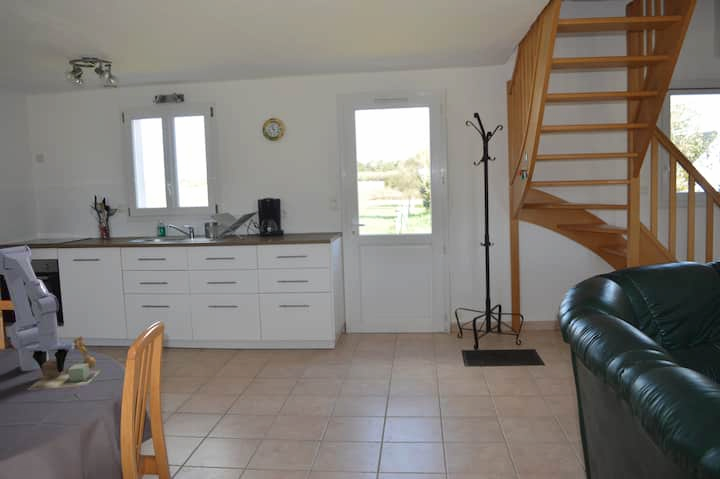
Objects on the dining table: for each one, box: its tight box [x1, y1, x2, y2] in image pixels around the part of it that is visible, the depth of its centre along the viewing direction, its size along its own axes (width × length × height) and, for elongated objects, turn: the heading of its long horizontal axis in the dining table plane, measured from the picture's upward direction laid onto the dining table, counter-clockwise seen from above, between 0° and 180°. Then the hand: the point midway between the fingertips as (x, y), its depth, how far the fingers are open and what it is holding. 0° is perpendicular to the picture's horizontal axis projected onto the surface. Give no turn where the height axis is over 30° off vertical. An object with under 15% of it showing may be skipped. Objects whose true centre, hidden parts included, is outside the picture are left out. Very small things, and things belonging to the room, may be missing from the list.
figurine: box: [73, 335, 97, 368], centre depth 188 cm, size 8×6×12 cm
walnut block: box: [41, 359, 61, 377], centre depth 180 cm, size 4×4×4 cm
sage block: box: [67, 363, 90, 381], centre depth 177 cm, size 4×4×4 cm
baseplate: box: [26, 368, 103, 391], centre depth 177 cm, size 14×18×1 cm
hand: (53, 371), depth 180 cm, fingers closed on walnut block, 4 cm apart
